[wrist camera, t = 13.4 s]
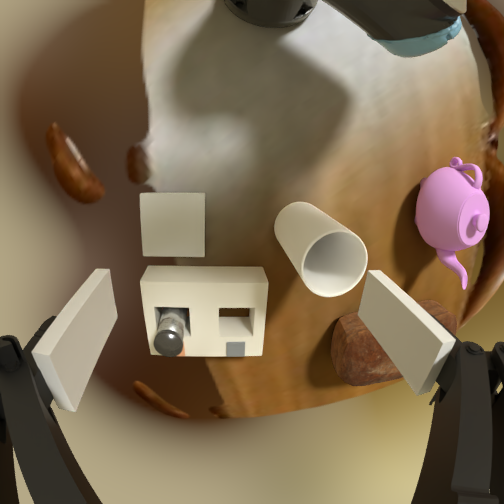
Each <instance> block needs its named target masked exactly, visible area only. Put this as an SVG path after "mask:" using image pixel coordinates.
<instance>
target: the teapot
mask: <svg viewBox="0 0 504 504" xmlns="http://www.w3.org/2000/svg"><path fill="white" fill-rule="evenodd" d="M457 163H458V166H457ZM450 167H451V168H450ZM450 167H444V168H440V169H438V170H436V171H434V172H433V173H432V174H431V175H430V176H429V177H428V178H423V179H422V180H421V182H420V188H421V189H420V192H419V195H418V199H417V204H416V216H415V219H414V221H415V224H416V225H417V226H418V230H419V232H420V234H421V236H422V238H423V239H424V241H425V242H426V243H427V244H429V245H430V246H432V247H434V248H435V249H436V253H437V256H438V258H439V260H440V261H441V262H442V263H443V264H444V265H445V266H446V267H448V268H449V269H451V270H453V271H454V272H455V273H456V274H457V275H458V276H459V278H460V280H461V284H462V288H463V289H464V290H465V289H466V286H467V273H466V270H465V269H464V267H463V266H462V265H461V264H460V263H459V262H458V261H457V259H456V256H455V251H457V250H462V249H465V248H468V247H471V246H473V245H475V244H477V243H478V242H479V241H480V240H481V238H482V237H483V235H484V234H485V232H486V229H487V226H488V222H489V205H488V201H487V199H486V197H485V195H484V193H483V192H482V190H481V189H480V187H481V184H482V172H481V170H480V168H479V167H478V166H476V165H474V164H463V165H462V160H461V159H460V158H458V157H453V158H452V159H451V161H450ZM465 170H474V171H475V181H474V180H473V179H472V178H471V177H470V176H468V175H467V174H465V173H464V172H462V171H465Z"/></svg>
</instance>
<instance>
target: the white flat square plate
mask: <svg viewBox="0 0 504 504" xmlns="http://www.w3.org/2000/svg"><path fill="white" fill-rule="evenodd" d="M140 214H141V215H140V216H141V235H142V249H143V256H162V257H205V193H186V192H179V193H141V194H140Z"/></svg>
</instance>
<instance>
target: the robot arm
mask: <svg viewBox="0 0 504 504" xmlns="http://www.w3.org/2000/svg"><path fill="white" fill-rule="evenodd" d="M224 1H225V3H226V5H227V6H228V8H229V9H230V10H231V11H232V12H233V13H234V14H235V15H237V16H238V17H239V18H241V19H243V20H245V21H247V22H249V23H252V24H255V25H258V26H263V27H270V28H280V27H287V26H292V25H295V24H297V23H299V22H301V21H303V20H304V19H305V18H307V17H308V16H309V14H310V13H311V12H312V11H313V9H314V8H315V6H316V4H317V1H318V0H224ZM322 1H324V2H325V3H327V4H328V5H330V6H331V7H333V8H334V9H336V10H337V11H338V12H340V13H341V14H343V15H344V16H345V17H347V18H348V19H349V20H351V21H352V22H353V23H355V24H356V25H357V26H358V27H360V28H361V29H362V30H363V31H365V32H366V33H367V35H368V36H369V37H370V38H371V39H372V40H374V41H377V42H378V43H379V44H381V45H382V46H383V47H384V48H385V49H387V50H388V51H389V52H390V53H392V54H394V55H397V56H400V57H417V56H421V55H425V54H427V53H430V52H433V51H435V50H437V49H439V48H441V47H442V46H444V45H446V44H447V41H448V40H450V39H453V38H454V37H455V36H456V35H457V34H458V33H459V31H460V30H461V25H462V23H461V20H460V15H462V14H464V13H465V12H466V0H322ZM358 316H359V317H360V319H361V320H362V321H363V323H364V324H365V325H366V327H367V328H368V329H369V331H370V332H371V333H372V334H373V336H374V337H375V339H376V340H377V341H378V343H379V344H380V345H381V347H382V348H383V349H384V351H385V352H386V353H387V355H388V356H389V357H390V359H391V360H392V362H393V363H394V364H395V366H396V367H397V368H398V370H399V371H400V373H401V374H402V375H403V377H404V378H405V380H406V381H407V382H408V384H409V385H410V387H411V388H412V389H413V391H414V392H415V394H416V395H421V394H424V393H427V392H430V390H431V389H432V387H433V385H434V383H435V381H436V382H437V383H438V384H439V385H440V386H439V388H438V390H437V391H436V393H435V395H434V396H433V398H432V400H431V401H430V404H429V405H432V403H433V402H434V401H435V405H434V413H433V419H432V425H431V430H430V435H429V440H428V445H427V449H426V454H425V458H424V462H423V466H422V469H421V473H420V477H419V480H418V484H417V487H416V490H415V493H414V496H413V499H412V502H411V504H504V342H497V343H496V344H495V346H494V348H493V350H492V351H490V352H489V351H484V350H483V348H482V347H481V346H479V345H478V344H476V343H473V342H468V341H466V342H463V343H462V342H461V341H460V340H459V339H458V338H457V337H456V336H455V335H454V334H453V333H452V332H451V331H449V330H448V329H447V328H445V326H444V325H443V324H442V323H440V321H439V320H438V319H437V318H436V317H435V316H433V315H431V314H430V313H428V312H426V311H425V310H424V309H423V308H422V307H421V306H420V305H419V304H417V303H416V302H415V301H414V300H413V299H412V298H411V297H410V296H409V295H408V294H406V293H405V292H404V291H403V290H402V289H401V288H400V287H398V286H397V285H396V284H395V283H394V282H393V281H392V280H390V279H389V278H388V277H387V276H386V275H385V274H384V273H382V272H381V271H380V270H368V273H367V278H366V282H365V287H364V291H363V295H362V299H361V303H360V307H359V311H358ZM117 317H118V316H117V310H116V305H115V300H114V294H113V288H112V281H111V275H110V269H95V271H94V272H93V273H92V274H91V275H90V277H89V278H88V279H87V280H86V281H85V282H84V284H83V285H82V286H81V287H80V289H79V290H78V291H77V292H76V294H75V295H74V296H73V297H72V298H71V299H70V301H69V302H68V303H67V305H66V306H65V307H64V308H63V310H62V311H61V312H60V313H59V315H58V316H52V317H51V318H49V319H47V320H46V321H45V322H44V323H43V324H42V325H41V326H40V328H39V330H38V331H37V332H36V333H35V334H34V336H33V337H32V338H31V340H30V341H29V342H28V344H27V345H26V346H25V348H24V349H23V350H22V348H21V346H20V343H19V341H18V339H17V338H16V337H14V336H11V335H6V336H1V337H0V504H19V499H18V493H17V486H16V479H15V470H14V459H13V448H14V451H15V454H16V457H17V460H18V463H19V466H20V469H21V472H22V474H23V477H24V480H25V482H26V485H27V487H28V490H29V492H30V495H31V497H32V499H33V501H34V504H102V502H101V501H100V499H99V498H98V496H97V495H96V493H95V492H94V490H93V488H92V487H91V485H90V484H89V482H88V480H87V479H86V477H85V475H84V474H83V472H82V470H81V468H80V466H79V464H78V463H77V461H76V459H75V457H74V455H73V453H72V451H71V449H70V447H69V445H68V443H67V441H66V439H65V437H64V435H63V433H62V431H61V429H60V426H59V424H58V422H57V419H56V417H55V415H54V412H53V410H52V408H51V407H50V404H51V402H52V400H53V398H54V400H55V402H56V404H57V406H58V408H60V409H63V410H68V411H72V412H76V410H77V408H78V405H79V403H80V400H81V398H82V395H83V393H84V390H85V388H86V385H87V383H88V381H89V378H90V376H91V374H92V371H93V369H94V367H95V365H96V362H97V360H98V358H99V355H100V353H101V351H102V349H103V347H104V345H105V342H106V340H107V338H108V336H109V334H110V332H111V330H112V328H113V326H114V323H115V322H116V320H117ZM501 382H502V384H503V388H502V389H501V391H500V392H499V394H498V393H497V391H496V389H497V388H498V386H499V385H500V383H501ZM489 489H490V493H489Z"/></svg>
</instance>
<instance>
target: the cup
mask: <svg viewBox="0 0 504 504" xmlns="http://www.w3.org/2000/svg"><path fill="white" fill-rule="evenodd" d="M274 231H275V235H276V238H277V240H278V241H279V243H280V245H281V246H282V248H283V249H284V251H285V253H286V254H287V256H288V257H289V259H290V261H291V262H292V264H293V265H294V267H295V269H296V270H297V272H298V274H299V275H300V277H301V278H302V280H303V282H304V283H305V285H306V286H307V287H308V288H309V289H310V290H311V291H312V292H313V293H315V294H317V295H320V296H324V297H334V296H339V295H342V294H344V293H346V292H348V291H349V290H351V289H352V288H353V287H354V286H355V285H356V284H357V283H358V282H359V281H360V279H361V278H362V276H363V274H364V272H365V270H366V266H367V250H366V247H365V245H364V243H363V242H362V240H361V239H360V238H359V237H358V236H357V235H356V234H354V233H353V232H352V231H350V230H349V229H347V228H346V227H344V226H343V225H342V224H340V223H339V222H337V221H336V220H334V219H333V218H331V217H330V216H328V215H327V214H325V213H324V212H322V211H321V210H319V209H318V208H316V207H315V206H313V205H311V204H309V203H306V202H294V203H291V204H289V205H287V206H286V207H284V208H283V209H282V210H281V211H280V212H279V214H278V215H277V217H276V220H275V225H274Z"/></svg>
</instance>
